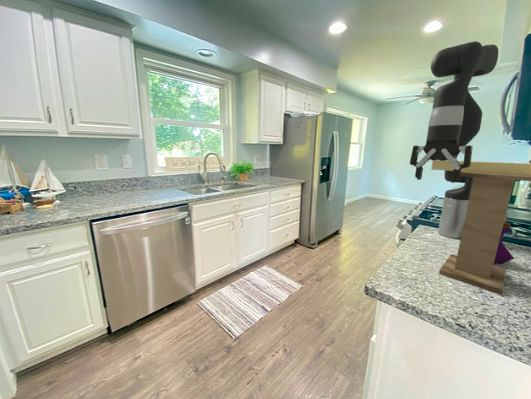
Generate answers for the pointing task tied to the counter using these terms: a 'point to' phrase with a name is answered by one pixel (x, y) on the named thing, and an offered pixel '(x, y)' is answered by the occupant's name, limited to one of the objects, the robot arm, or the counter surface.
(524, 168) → the ochre bar
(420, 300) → the counter surface
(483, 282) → the walnut stand
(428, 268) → the counter surface
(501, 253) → the perfume bottle
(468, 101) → the robot arm
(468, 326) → the counter surface
